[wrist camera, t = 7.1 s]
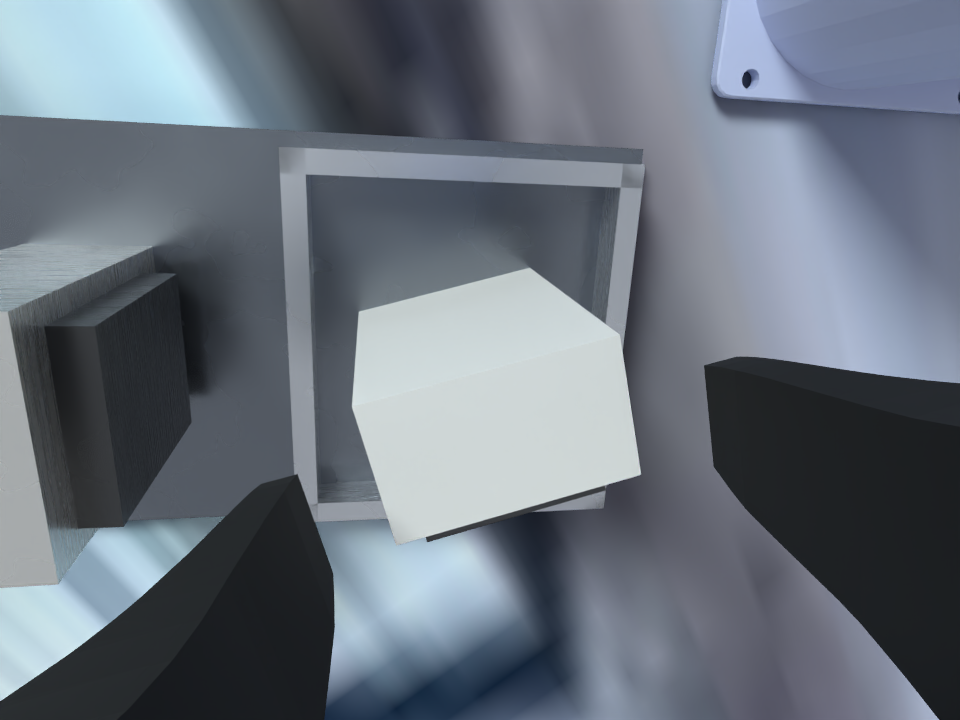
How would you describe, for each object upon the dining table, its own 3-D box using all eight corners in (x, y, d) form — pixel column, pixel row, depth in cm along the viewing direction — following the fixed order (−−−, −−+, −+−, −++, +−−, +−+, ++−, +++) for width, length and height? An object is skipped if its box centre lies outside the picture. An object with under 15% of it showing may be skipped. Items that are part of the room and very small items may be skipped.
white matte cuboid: (358, 311, 18) (351, 407, 11) (529, 267, 18) (619, 334, 12) (394, 431, 19) (406, 578, 13) (553, 387, 19) (646, 508, 13)
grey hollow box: (632, 149, 18) (804, 149, 11) (593, 487, 22) (706, 657, 14) (-169, 106, 15) (-678, 67, 8) (-67, 514, 18) (-355, 755, 11)
